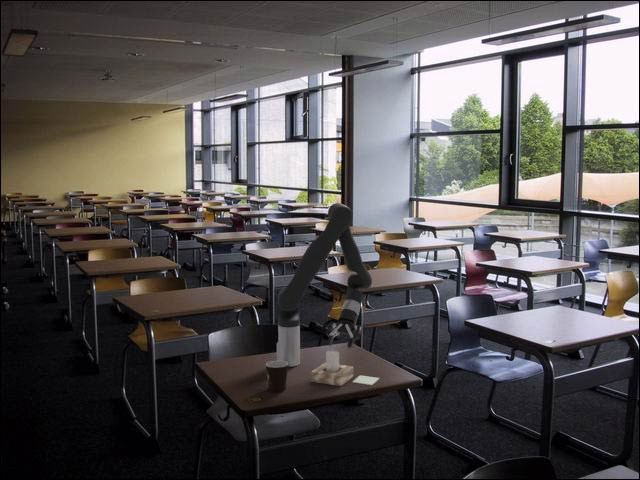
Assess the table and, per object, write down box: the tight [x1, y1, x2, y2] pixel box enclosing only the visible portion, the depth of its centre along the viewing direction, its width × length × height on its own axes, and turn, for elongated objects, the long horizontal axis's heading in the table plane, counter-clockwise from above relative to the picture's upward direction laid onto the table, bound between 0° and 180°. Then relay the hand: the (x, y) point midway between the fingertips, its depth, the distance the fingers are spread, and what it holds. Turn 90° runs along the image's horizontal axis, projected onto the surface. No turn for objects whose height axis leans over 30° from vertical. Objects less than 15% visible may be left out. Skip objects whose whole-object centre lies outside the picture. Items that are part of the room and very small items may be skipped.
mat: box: [351, 375, 380, 386], centre depth 256 cm, size 8×8×1 cm
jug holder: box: [310, 362, 354, 387], centre depth 258 cm, size 13×13×4 cm
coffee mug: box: [265, 360, 289, 393], centre depth 248 cm, size 12×9×10 cm
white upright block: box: [325, 350, 340, 373], centre depth 257 cm, size 5×7×11 cm
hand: (339, 346), depth 263 cm, fingers open, 8 cm apart
